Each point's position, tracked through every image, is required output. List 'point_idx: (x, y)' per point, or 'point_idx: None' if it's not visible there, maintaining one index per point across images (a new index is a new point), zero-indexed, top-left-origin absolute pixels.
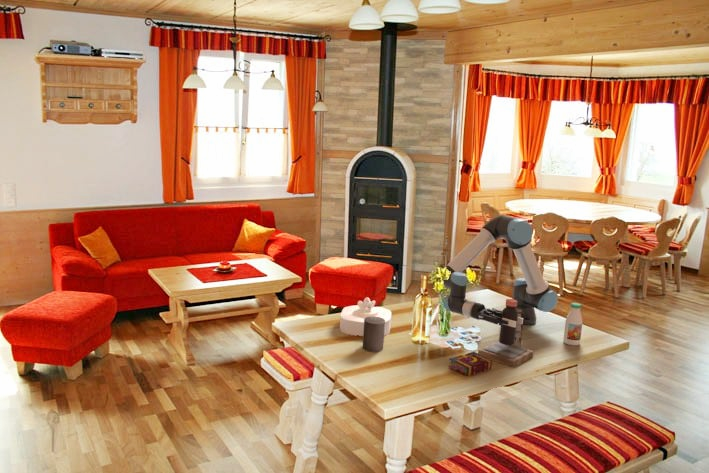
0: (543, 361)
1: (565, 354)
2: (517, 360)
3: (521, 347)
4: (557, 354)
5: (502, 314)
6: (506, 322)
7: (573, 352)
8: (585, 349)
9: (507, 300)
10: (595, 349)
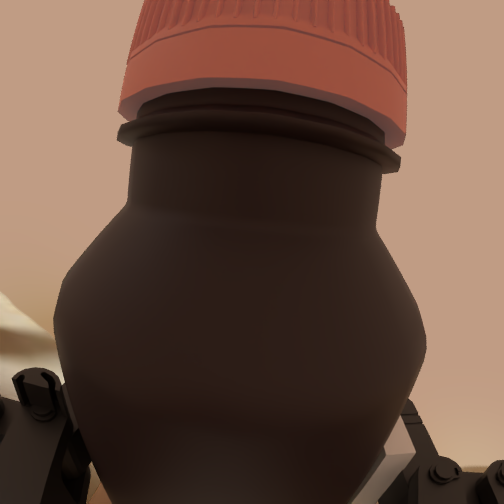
0: None
1: (58, 364)
2: None
3: (98, 492)
4: (64, 382)
5: (367, 465)
6: (404, 410)
7: (37, 345)
8: (13, 322)
9: (380, 13)
10: (13, 308)
